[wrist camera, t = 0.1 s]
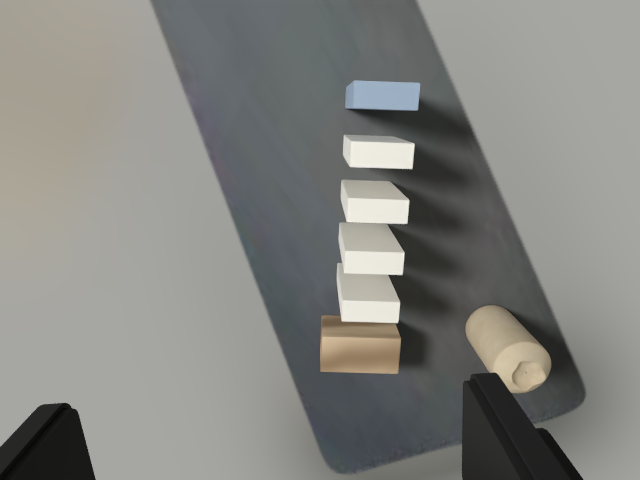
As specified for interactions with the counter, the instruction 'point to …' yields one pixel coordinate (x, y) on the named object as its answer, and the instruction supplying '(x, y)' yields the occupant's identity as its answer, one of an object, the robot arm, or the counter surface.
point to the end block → (358, 346)
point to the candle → (508, 348)
